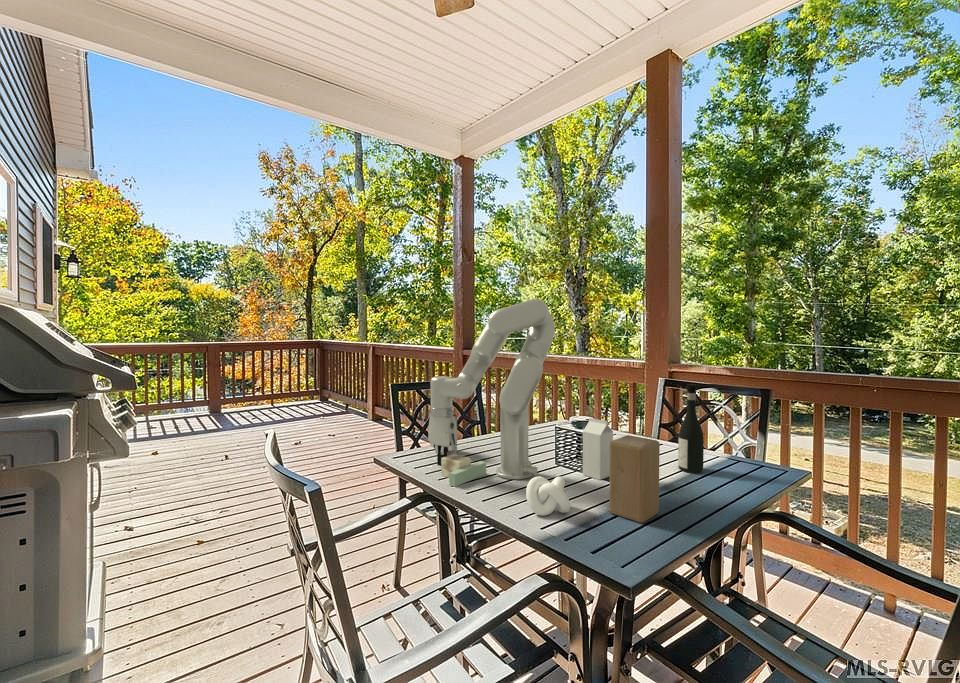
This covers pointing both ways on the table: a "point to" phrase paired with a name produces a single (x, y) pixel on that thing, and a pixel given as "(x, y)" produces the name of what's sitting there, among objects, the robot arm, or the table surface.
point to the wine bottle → (691, 437)
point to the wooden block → (634, 478)
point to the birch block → (453, 464)
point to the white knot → (547, 496)
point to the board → (467, 473)
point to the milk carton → (597, 449)
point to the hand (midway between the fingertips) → (442, 464)
